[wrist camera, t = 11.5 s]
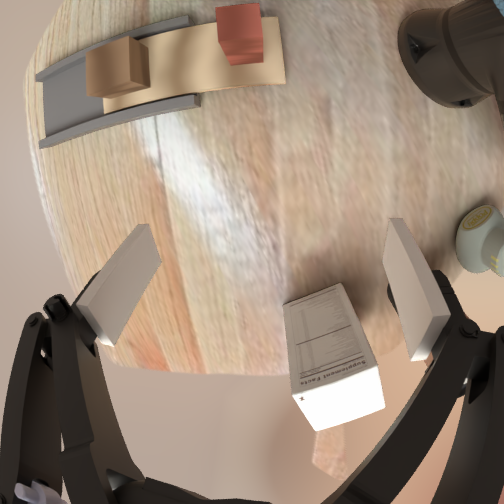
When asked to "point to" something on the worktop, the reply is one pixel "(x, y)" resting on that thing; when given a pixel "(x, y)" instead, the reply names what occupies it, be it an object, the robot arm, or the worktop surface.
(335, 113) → the worktop surface
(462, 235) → the air freshener
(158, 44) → the strip
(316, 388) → the supplement box
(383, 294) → the worktop surface
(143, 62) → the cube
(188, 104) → the lane board
